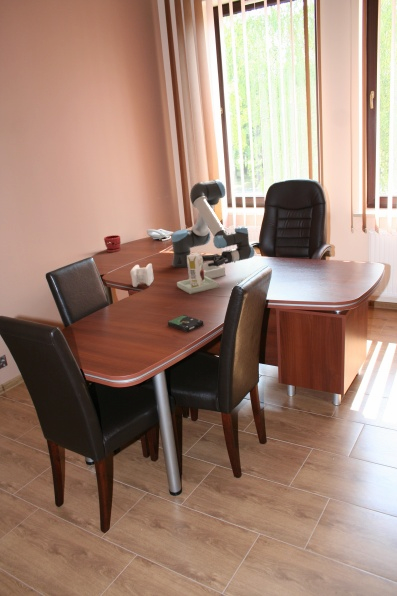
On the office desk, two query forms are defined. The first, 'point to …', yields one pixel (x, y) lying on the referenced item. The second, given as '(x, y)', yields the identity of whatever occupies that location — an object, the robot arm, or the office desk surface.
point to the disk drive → (185, 323)
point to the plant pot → (112, 243)
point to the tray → (207, 285)
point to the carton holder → (214, 271)
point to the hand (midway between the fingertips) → (197, 263)
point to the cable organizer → (142, 275)
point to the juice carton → (195, 269)
